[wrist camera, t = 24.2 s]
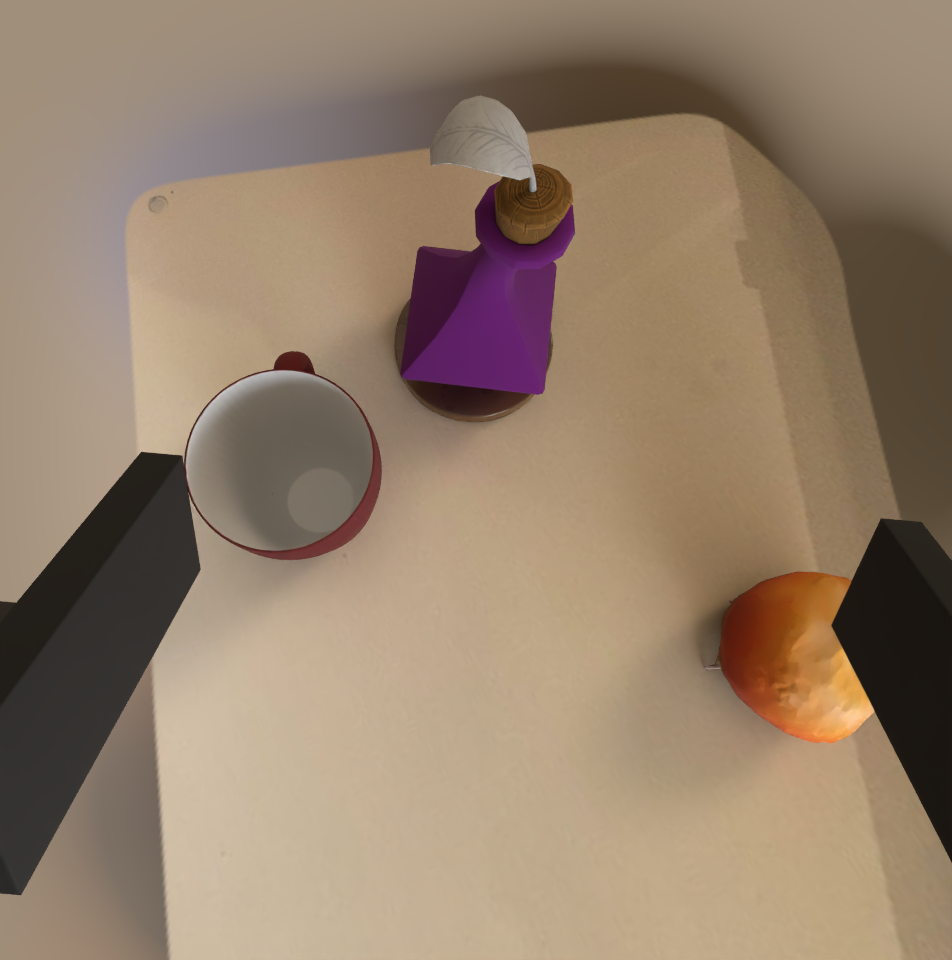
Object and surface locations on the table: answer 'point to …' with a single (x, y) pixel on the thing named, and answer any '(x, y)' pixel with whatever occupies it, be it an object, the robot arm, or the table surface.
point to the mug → (284, 463)
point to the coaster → (460, 390)
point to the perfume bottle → (491, 263)
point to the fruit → (793, 657)
